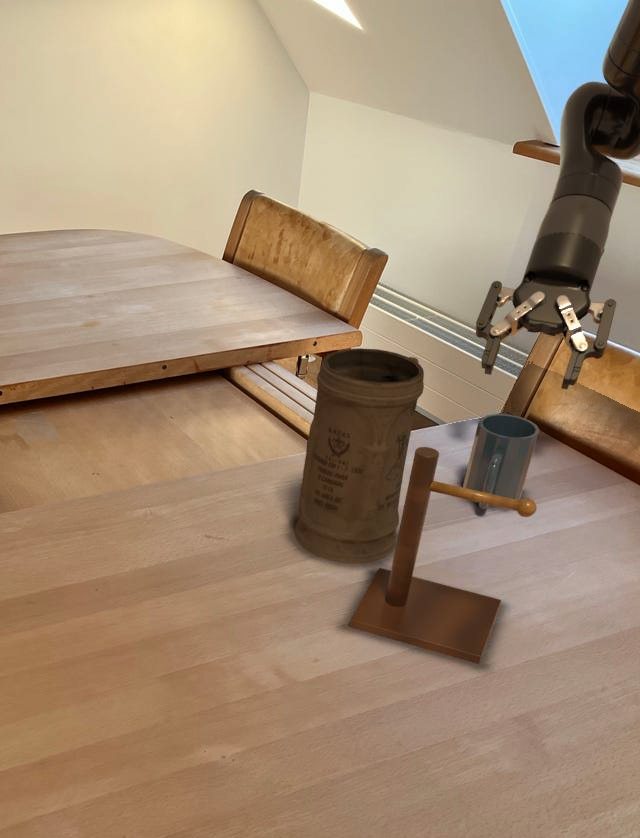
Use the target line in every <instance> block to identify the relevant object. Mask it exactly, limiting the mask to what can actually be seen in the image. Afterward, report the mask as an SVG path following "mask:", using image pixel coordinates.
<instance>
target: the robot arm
mask: <svg viewBox="0 0 640 838" xmlns="http://www.w3.org/2000/svg"><path fill="white" fill-rule="evenodd" d="M621 15H622V16H621V17H620V20H619V22H618V24H617V26H616V29H615V31H614V34H613V36H612V38H611V41H610V43H609V46H608V47H607V49H606V52H605V54H604V57H603V59H602V60H603V61H602V65H601V70H602V76H603V79H604V81H605V82H606V83H605V82H601V81H587V82H585V83H583V84H581V85H579V86H578V87H576V89H575V90H574V91H573V92H572V93H571V94H570V96H568V98H567V100H566V102H565V105H564V107H563V111H562V113H561V119H560V130H559V151H560V153H559V154H560V155H559V156H560V157H559V159H560V160H559V169H558V174H557V175H558V176H557V179H556V183H555V187H554V189H553V192H552V195H551V198H550V202H549V205H548V208H547V210H546V212H545V215H544V216H543V219H542V221H541V223H540V225H539V228H538V231H537V233H536V237H535V239H534V243H533V247H532V250H531V253H530V256H529V258H528V262H527V265H526V268H525V271H524V274H523V277H522V279H521V283H520V284H519V285H518V286H517V287H516V288H510V287H507V286H506V287H505V286H503V283H502V282H501V281H499V280H494V281H493V282H491V284H490V287H489V288H488V292H487V294H486V297H485V300H484V302H483V305H482V307H481V309H480V312H479V314H478V316H477V319H476V321H475V336H476V337H477V338H478V339H481V338H483V339H484V340H486V344H485V347H484V350H483V353H482V356H481V369H484V374H485V375H489V376H491V375H492V373H493V371H494V367H495V363H496V362H497V358H498V354H499V352H500V349H501V343H502V342H504V341H505V340H506V339H508V338H509V337H512V336H513V337H514V335H516V334H517V333H519V332H520V331H522V330H523V329H525V330H527V332H528V333H535V334H536V333H542V334H545V335H547V336H550V337H556V335H560V334H561V336H562V338H563V340H564V342H565V345H566V346H567V347H568V348H569V350H570V352H571V353H570V358H569V360H568V363H567V366H566V370H565V373H564V376H563V379H562V383H561V387H560V389H562V390H568V389H569V386H573V387H574V386H575V385H576V384H577V382H578V379H579V376H580V373H581V369H582V367H583V364H584V361H585V360H586V359H590V358H594V359H597V360H599V359H601V358H603V357H604V355H605V351H606V347H607V345H608V340H609V337H610V332H611V328H612V323H613V319H614V315H615V311H616V307H617V301H616V300H615V299H614V298H609V299H607V300H605V302H600V301H599V302H598V301H591V298H590V294H591V290H592V288H593V283H594V281H595V277H596V275H597V272H598V268H599V265H600V262H601V259H602V257H603V255H604V253H605V248H606V247H605V246H606V244H607V240H608V237H609V232H610V227H611V226H610V224H611V221H612V217H613V214H614V212H615V211H614V210H615V207H616V205H617V201H618V198H619V195H620V191H621V189H622V186H623V180H624V179H623V178H624V177H623V176H624V175H623V171H622V169H621V167H620V166H619V164H618V163H617V162H615V161H614V160H620V161H628V160H631V159H634V158H636V157H638V156H640V0H628V2H627V4H626V7H625V9H624V11H623V13H622V14H621ZM612 159H614V160H612ZM510 301H512V302H511V303H512V306H513V307H514V309H512V310H511V311H509V312H508V313H507V314H506V316H505V317H504V318H503V319H502V320H500V321H498V322H497V323H496V324H495V325H493V324H491V323H492V321H493V318H494V316H495V313H496V311H497V308H502V307H504V305H505V304H506V303H507V302H510ZM588 314H590V315H591V316H592V321H593V322H594V323H595V324H597V325H598V328H597V331H596V335H595V340H594V341H587V339H586V337H585V335H584V332H583V329H582V326H581V323H580V321H581V320H582V319H583V318H584V317H586V316H587V315H588Z"/></svg>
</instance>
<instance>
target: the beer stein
mask: <svg viewBox="0 0 640 838" xmlns="http://www.w3.org/2000/svg"><path fill="white" fill-rule="evenodd" d="M424 378H425V371H424V368H423V366H422V365H421V364H420V363H419V359H418V358H417V357H414V356H413V357H412V356H406V355H403V354H401V353H398V352H393V351H389V350H384V349H378V348H360V347H358V348H357V347H356V348H346V349H341V350H337V351H333V352H331V353H328V354H327V355H326V356H325V357H324V358H323V359H322V362H321V366H320V370H319V371H318V373H317V376H316V381H317V389H316V397H315V406H314V411H313V419H312V421H311V423H310V425H309V431H308V436H307V441H306V448H305V449H306V451H305V457H304V458H305V459H304V465H303V472H302V479H301V485H300V493H299V499H298V515H299V518H298V519H297V522H296V524H295V528H294V532H293V533H294V538H295V540H296V541H297V543H298V544H299V545H300V546H301V547H302V548H303V549H304V550H306V551H307V552H309V553H311V554H312V555H314V556H316V557H318V558H321V559H325V560H327V561H331V562H336V563H342V564H352V565H353V564H354V565H356V564H360V565H361V564H368V563H373V562H377V561H380V560H382V559H385V558H387V557H388V556H389V555H390V554H393V552H394V551H395V549H396V544H397V534H396V530H397V528H398V526H400V525H399V524H400V514H399V505H400V499H401V497H400V496H401V491H402V490H401V489H402V484H403V478H404V473H405V472H404V471H405V466H406V460H407V456H408V449H409V442H410V438H411V434H412V428H413V423H414V417H415V413H416V409H417V403H418V400H419V398H420V397H421V396H422V395H423V392H424V389H425V385H424V384H425V383H424Z"/></svg>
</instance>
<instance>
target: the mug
mask: <svg viewBox="0 0 640 838" xmlns="http://www.w3.org/2000/svg"><path fill="white" fill-rule="evenodd" d="M539 434H540V428H539V427H538V425H537V424H536V423H534V422H533V421H531V420H529V419H526V418H524V417H521V416H519V415H513V414H507V413H506V414H504V413H494V414H486V415H485V416H482V417H480V418H479V420H478V422H477V426H476V431H475V435H474V439H473V442H472V447H471V451H470V456H469V460H468V464H467V467H466V471H465V472H466V473H465V475H464V476H465V477H464V480H463V485H462V487H463V488H467V489H471V490H476V491H480V492H484V493H489V494H493V495H498V496H502V497H506V498H511V499H515V500H521V499H522V493H523V490H524V486H525V484H526V480H527V476H528V474H529V469H530V465H531V462H532V458H533V456H534V452H535V448H536V444H537V441H538V438H539ZM473 502H475V503H476V504H479V505H478V506H479V508H480V509H482V510H486V509H488V508H489V507H490V508H498V507H497V506H493V505H489V504H484V503H480V502H476V501H473Z"/></svg>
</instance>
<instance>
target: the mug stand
mask: <svg viewBox="0 0 640 838" xmlns="http://www.w3.org/2000/svg"><path fill="white" fill-rule="evenodd" d="M439 456H440V452H439V451H438V450H437V449H436V448H433V447H428V446H421V447H417V448H416V449H415V451H414V455H413V461H412V466H411V469H410V475H409V480H408V484H407V490H406V494H405V501H404V505H403V511H402V514H401V519H400V523H399V524H400V525H399V528H398V533H397V538H396V545H395V548H394V554H393V559H392V564H391V568H390V570H389V569H386V568H381V567H379V568H378V569H377V570H376V573H375V575H374V576H373V578H372V580H371V582H370V584H369V586H368V587H367V589H366V590H365V592H364V594H363V596H362V598H361V600H359V601H360V602H359V603H358V605H357V607H356V609H355V610H354V611H353V614H352V616H351V618H349V619H350V620H349V624H348V627H349V628H351V629H354V630H358V631H362V632H365V633H369V634H371V635H372V634H373V635H376V636H379V637H382V638H386V639H390V640H393V641H397V642H400V643H404V644H406V645H410V646H413V647H417V648H421V649H424V650H428V651H431V652H435V653H438V654H442V655H445V656H448V657H452V658H455V659H459V660H463V661H466V662H469V663H473V664H477V665H480V664H481V660H482V658H483V654H484V651H485V649H486V646H487V644H488V640H489V637H490V634H491V633H492V629H493V626H494V624H495V621H496V618H497V614H498V612H499V610H500V606H501V602H502V599H499V598H495V597H492V596H488V595H484V594H481V593H477V592H472V591H469V590H466V589H463V588H462V589H461V588H457V587H454V586H451V585H446V584H443V583H438V582H435V581H431V580H427V579H424V578H420V577H417V576H413V575H414V570H415V566H416V562H417V557H418V553H419V547H420V544H421V538H422V535H423V529H424V525H425V520H426V515H427V512H428V508H429V502H430V498H431V494H432V492H434V493H436V494H437V493H438V494H442V495H446V496H450V497H454V498H458V499H462V500H463V499H464V500H467V501H471V502H474V501H476V502H480V503H484V504H489V505H493V506H497V507H496V508H503V509H505V510H510V511H516V512H517V514H518V515H519V516H520V517H522V518H530V517H532V516H533V515H534V514H536V511H537V503H536V501H535V500H534V499H532V498H529V497H523V498H521V499H520V500H515V499H511V498H506V497H502V496H498V495H493V494H489V493H484V492H480V491H476V490H471V489H467V488H463V486H458V485H453V484H449V483H444V482H441V481H435V475H436V471H437V467H438V462H439ZM476 502H475V503H476Z"/></svg>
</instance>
